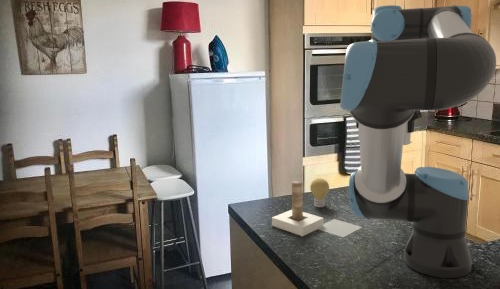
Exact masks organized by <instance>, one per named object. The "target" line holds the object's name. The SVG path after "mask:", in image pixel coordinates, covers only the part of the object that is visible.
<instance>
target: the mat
mask: <svg viewBox="0 0 500 289" xmlns="http://www.w3.org/2000/svg"><path fill="white" fill-rule="evenodd" d="M362 228H363V226H360V225H357V224H353V223H349V222H346V221H342V220H339V219H336V218H333V219H331V220H329V221H327V222H324V226H323V227H321V228H319V229H318V230H319V231H322V232H324V233H328V234H331V235H334V236H338V237H341V238H345V237H347V236H349V235H350V234H352V233H354V232H356V231H357V230H360V229H362Z"/></svg>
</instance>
